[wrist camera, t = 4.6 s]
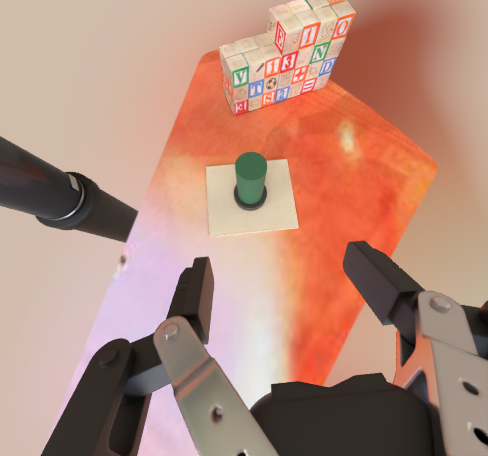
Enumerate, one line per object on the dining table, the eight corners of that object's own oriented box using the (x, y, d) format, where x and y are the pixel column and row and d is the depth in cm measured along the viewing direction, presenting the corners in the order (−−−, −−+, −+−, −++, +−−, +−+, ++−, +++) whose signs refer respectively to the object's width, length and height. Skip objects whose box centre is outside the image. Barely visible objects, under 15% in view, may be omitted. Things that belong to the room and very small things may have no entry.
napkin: (209, 236, 34) (209, 236, 34) (206, 167, 37) (205, 166, 37) (298, 228, 34) (298, 227, 34) (286, 159, 37) (287, 158, 37)
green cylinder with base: (235, 212, 35) (230, 188, 25) (232, 182, 36) (227, 148, 26) (268, 209, 35) (276, 183, 25) (264, 179, 36) (270, 144, 26)
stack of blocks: (234, 117, 40) (228, 50, 28) (224, 95, 41) (215, 22, 29) (325, 86, 41) (357, 10, 29) (312, 66, 43) (338, -14, 31)
